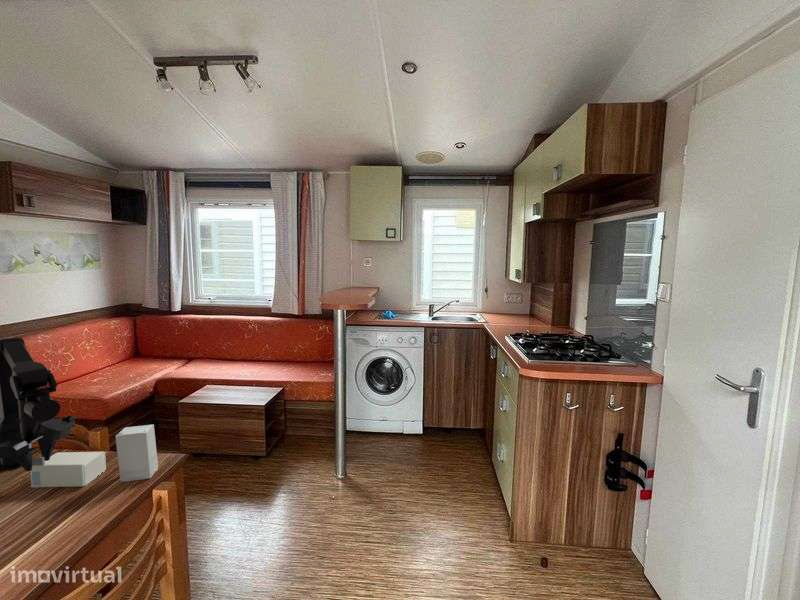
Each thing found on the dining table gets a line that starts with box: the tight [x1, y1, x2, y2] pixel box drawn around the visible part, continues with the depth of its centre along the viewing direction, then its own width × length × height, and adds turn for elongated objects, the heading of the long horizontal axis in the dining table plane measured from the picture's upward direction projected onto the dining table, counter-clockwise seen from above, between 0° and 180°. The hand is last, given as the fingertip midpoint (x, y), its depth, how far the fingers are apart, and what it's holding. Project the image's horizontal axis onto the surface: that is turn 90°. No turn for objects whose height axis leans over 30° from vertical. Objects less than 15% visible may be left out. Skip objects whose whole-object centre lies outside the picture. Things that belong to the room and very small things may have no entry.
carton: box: [45, 451, 107, 487], centre depth 108 cm, size 14×8×6 cm, turn 94°
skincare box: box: [115, 424, 159, 483], centre depth 109 cm, size 8×6×15 cm
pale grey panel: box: [29, 456, 85, 488], centre depth 103 cm, size 14×1×9 cm, turn 94°
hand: (38, 465), depth 103 cm, fingers open, 5 cm apart
